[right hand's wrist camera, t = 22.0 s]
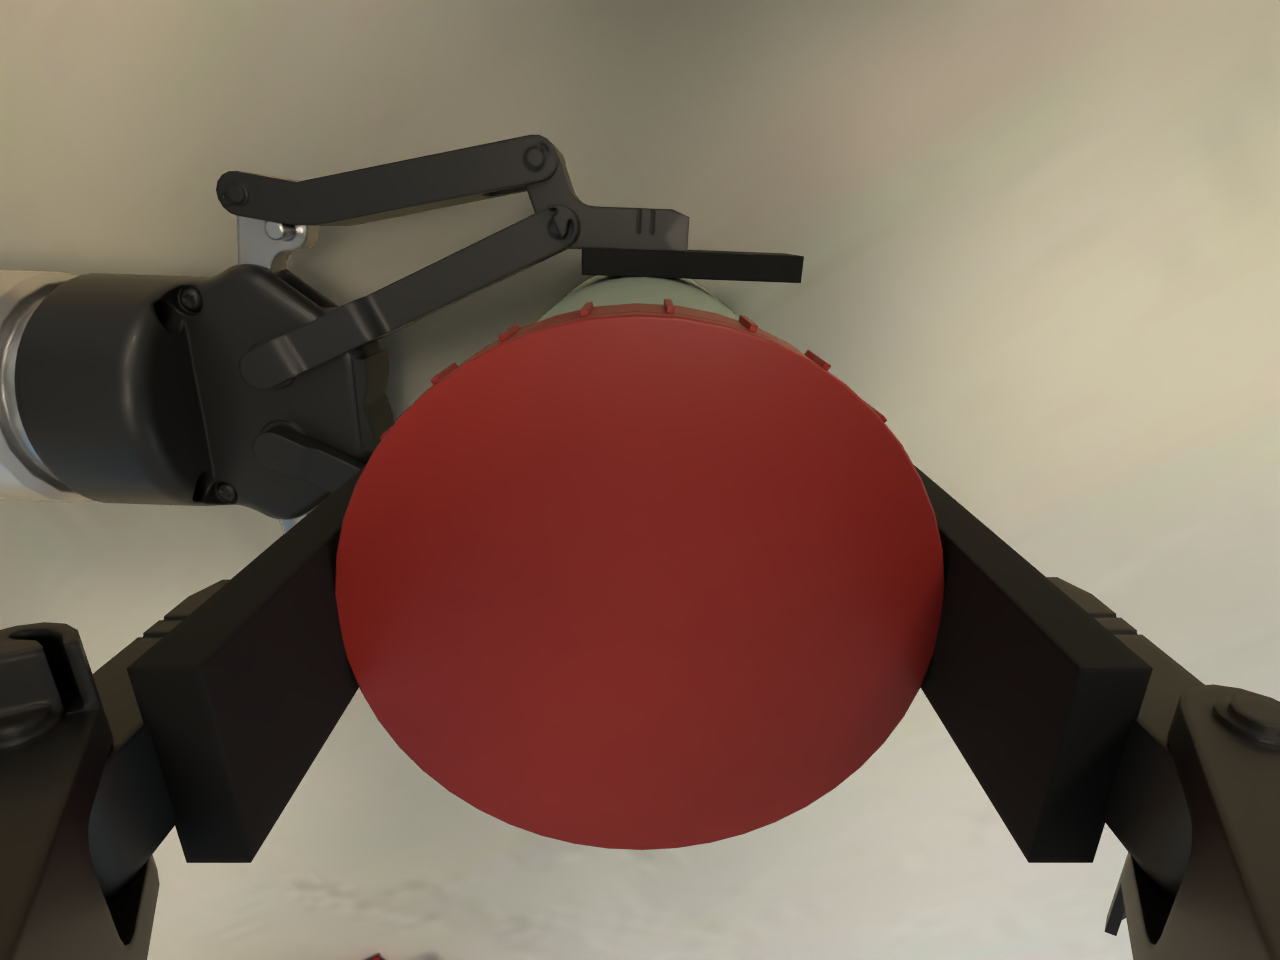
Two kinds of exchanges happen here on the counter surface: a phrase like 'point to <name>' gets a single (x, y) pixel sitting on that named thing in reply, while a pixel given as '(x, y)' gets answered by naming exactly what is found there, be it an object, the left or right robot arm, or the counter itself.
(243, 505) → the left robot arm
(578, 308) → the jar
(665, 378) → the lid
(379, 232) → the counter surface
